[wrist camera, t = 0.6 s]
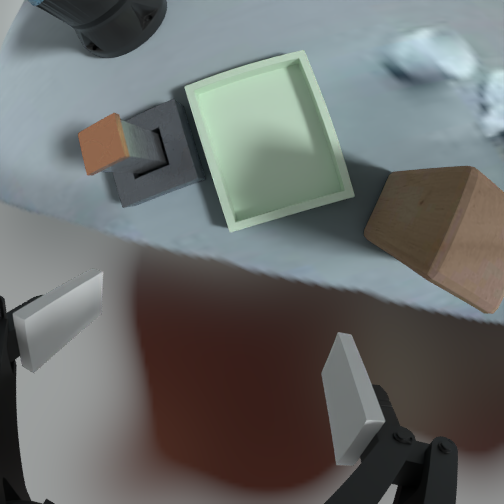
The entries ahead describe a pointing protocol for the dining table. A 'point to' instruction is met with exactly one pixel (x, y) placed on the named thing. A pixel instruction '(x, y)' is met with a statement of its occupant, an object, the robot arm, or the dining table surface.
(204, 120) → the tray
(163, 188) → the block
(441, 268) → the wooden block
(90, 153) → the pin
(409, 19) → the dining table surface
